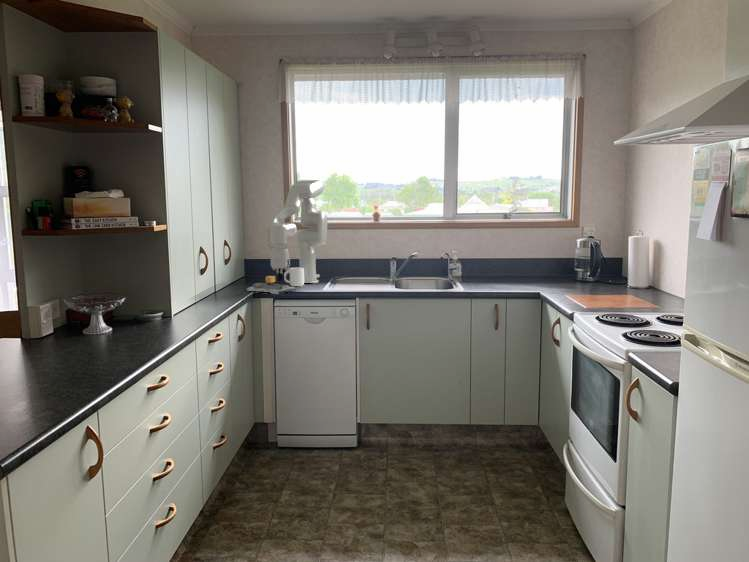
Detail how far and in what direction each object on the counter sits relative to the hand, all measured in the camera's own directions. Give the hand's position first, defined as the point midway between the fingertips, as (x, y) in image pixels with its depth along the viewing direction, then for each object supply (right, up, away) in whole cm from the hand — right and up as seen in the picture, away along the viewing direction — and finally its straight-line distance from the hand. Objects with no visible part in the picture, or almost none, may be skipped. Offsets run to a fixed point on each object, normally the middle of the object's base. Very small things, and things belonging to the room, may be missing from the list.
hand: (281, 280), depth 326 cm
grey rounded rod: (-17, -5, +10) cm, 20 cm away
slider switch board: (-6, -6, +4) cm, 10 cm away
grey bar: (+4, -6, -1) cm, 7 cm away
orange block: (-6, -3, +4) cm, 8 cm away
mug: (+4, -3, +21) cm, 22 cm away
